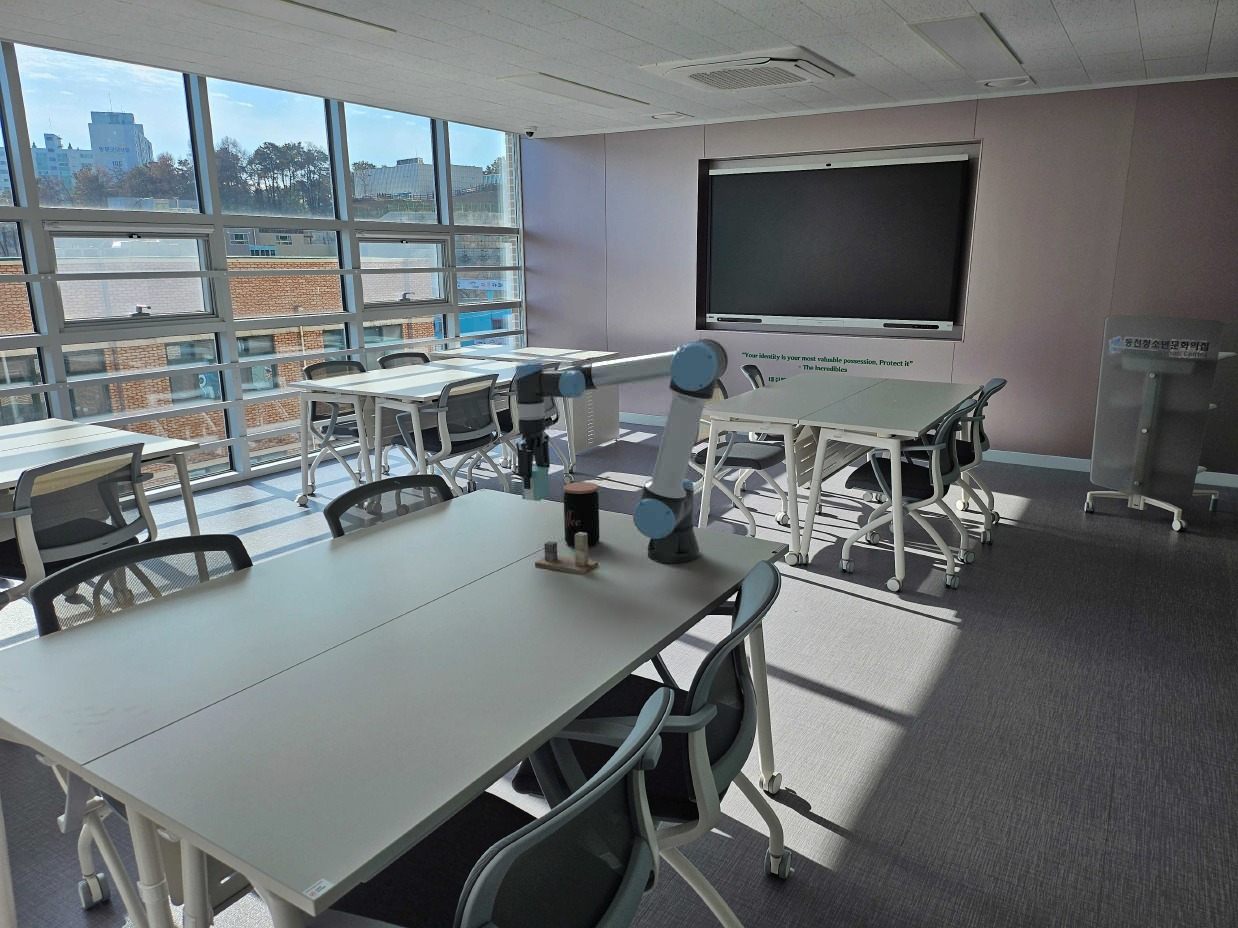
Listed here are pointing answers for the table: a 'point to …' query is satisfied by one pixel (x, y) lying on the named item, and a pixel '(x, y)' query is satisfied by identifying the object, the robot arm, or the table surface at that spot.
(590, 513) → the coffee jar
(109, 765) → the table surface
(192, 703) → the table surface
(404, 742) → the table surface
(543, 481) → the teal rectangular block
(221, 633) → the table surface
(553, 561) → the stand
